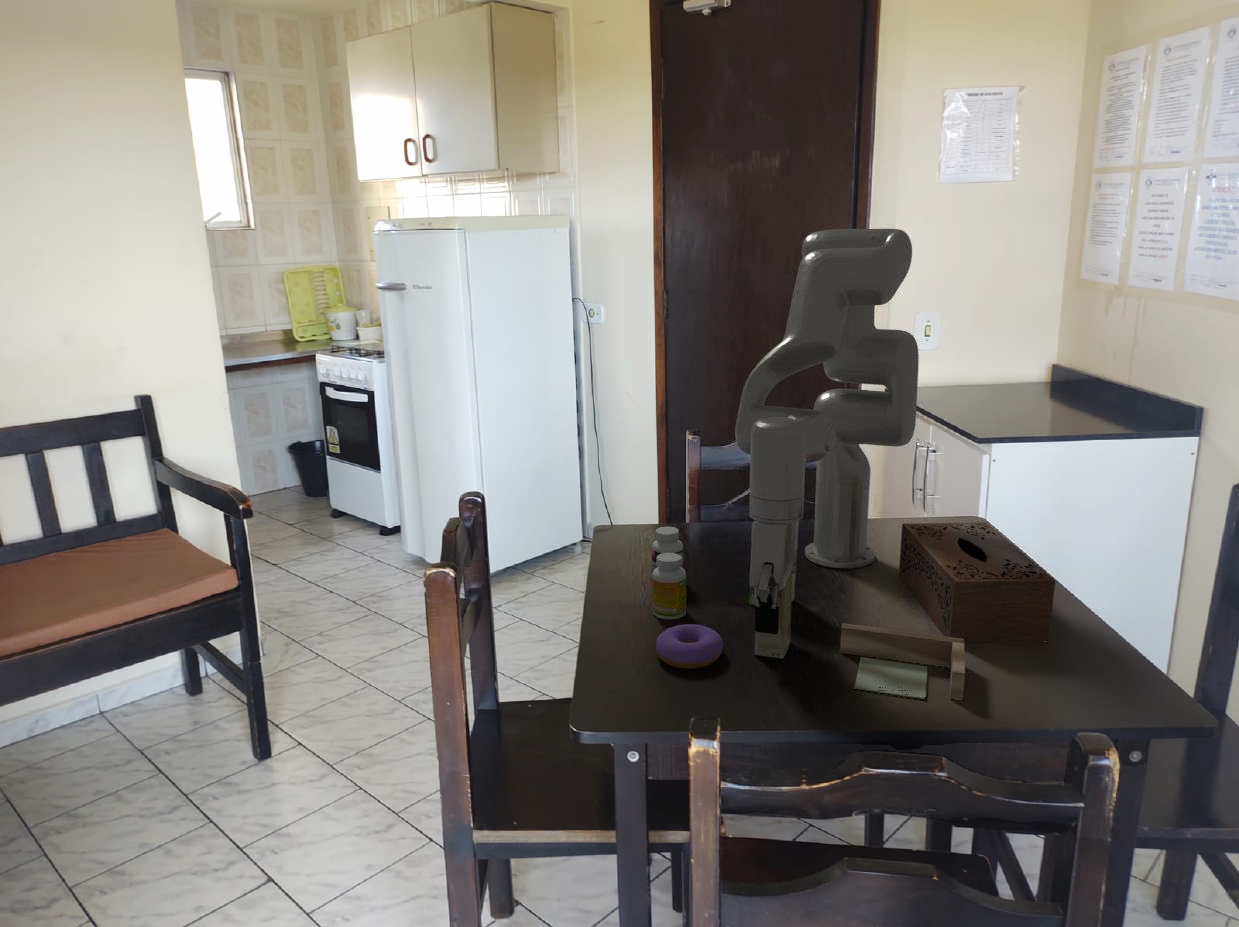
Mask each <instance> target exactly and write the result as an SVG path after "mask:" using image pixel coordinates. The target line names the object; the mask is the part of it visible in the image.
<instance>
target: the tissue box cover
mask: <svg viewBox="0 0 1239 927" xmlns="http://www.w3.org/2000/svg"><path fill="white" fill-rule="evenodd" d="M900 538H901V539H900V552H899V566H898V567H899V568H898V577H899V578H900V580H901V581H902V582H903V584H904V585H905V587H906V588H907V589H908V591H910V593H911V594H912V596H913V597H914V599H916V601H917V602H918V603H919V605H920V606H921V608H922V609H923V610H924V611H925V613H926V615H927V616H928V617H929V618H930V619H931V621H932V622H933V623H934V625H935V627H937V629H938V630H939V632H940V633H941V634H942V636H946V637H954V638H961V639H964V644H994V643H993V642H1022V643H1045V642H1044V641H1048V642H1049V639H1050V633H1051V632H1050V629H1051V622H1052V613H1053V606H1054V605H1053V604H1054V595H1055V586H1056V580H1055V579H1054V577H1052V576H1051V575H1049V574H1048V573H1047V572H1046V571H1045V570H1043V569H1042V568H1041V567H1040V566H1039V565H1037V563H1035V562H1034V560H1031V558H1029V557H1028V556H1027V555H1026V554H1025V553H1024V552H1022V551H1021V550H1020V549H1019V548H1017V547H1016V546H1015V545H1014V544H1013V543H1012V542H1010V541H1009V540H1008V539H1007V538H1005V536H1003V535H1002V534H1001V533H1000V532H999V531H997V530H996V529H995V528H994V527H992V525H991V524H989V523H988V522H986V521H985V522H933V523H932V522H929V523H928V522H927V523H926V522H925V523H921V522H920V523H902V524H901V537H900Z"/></svg>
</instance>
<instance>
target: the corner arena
mask: <svg viewBox="0 0 1239 927" xmlns="http://www.w3.org/2000/svg"><path fill="white" fill-rule="evenodd" d="M840 629H841V630H840V645H839V649H840V650H839V653H840V654H846V655H854V656H860V659H859V663H858V667H857V668H858V669H857V675H856V679H855V684H854V688H853V690H854V689H859V690H858V691H860V690H870V691H872V690H873V691H878V690H885V691H879V692H883V693H890V694H899V695H902V694H903V696H905V694H907V695H906V696H910V697H920V698H922V697H923V698H924V697H927V681H928V680H927V678H928V666H931V665H935V666H934V667H938V666H943V667H942V668H945V667H950V668H949V677H950V678H949V682H950V683H949V685H950V686H949V687H950V688H949V698H950V697H951V698H958V699H961V700H963V699H964V688H965V676H966V667H965V666H966V664H965V662H966V659H965V643H964V639H961V638H954V637H946V636H944V635H938V634H930V633H922V632H921V633H920V632H914V631H905V630H897V629H891V628H883V627H877V626H876V627H875V626H866V625H858V624H853V623H852V624H851V623H844V622H843V623H841V628H840ZM874 657H876V658H874ZM888 659H893V660H888ZM895 660H898V661H895ZM902 661H904V662H902ZM909 662H911V663H909ZM916 663H922V664H916ZM924 664H926V665H924ZM927 664H928V665H927ZM879 687H881V688H879ZM882 687H883V688H882ZM885 687H886V688H885ZM898 687H899V688H898ZM901 687H902V688H901ZM886 690H887V691H886ZM892 690H893V691H892ZM898 690H900V691H898ZM901 690H903V692H902V691H901ZM904 690H906V691H904ZM907 690H908V691H907ZM908 694H909V695H908Z"/></svg>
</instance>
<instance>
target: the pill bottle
mask: <svg viewBox="0 0 1239 927" xmlns="http://www.w3.org/2000/svg"><path fill="white" fill-rule="evenodd" d="M655 539H656V540H654V542H653V543H652V544H651V545H652V546H651V559H652V560H651V567H652V568H651V569H652V570H651V574H652V575H651V576H653V571H654V570H655V569H656V568H657V564H656V561H657V556H658V555H659V554H662V553H675V554H679V555H680V556H681V557H682V566H681V567H682V568H683V569H684V544H683V542H682V541H681V540H679V539H680V531H679V528H677V527H674V526H661V527H658V528H656V529H655Z"/></svg>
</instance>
